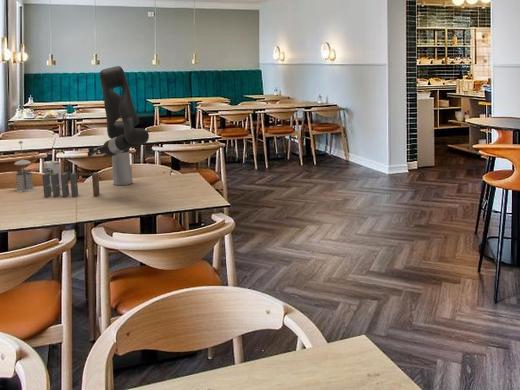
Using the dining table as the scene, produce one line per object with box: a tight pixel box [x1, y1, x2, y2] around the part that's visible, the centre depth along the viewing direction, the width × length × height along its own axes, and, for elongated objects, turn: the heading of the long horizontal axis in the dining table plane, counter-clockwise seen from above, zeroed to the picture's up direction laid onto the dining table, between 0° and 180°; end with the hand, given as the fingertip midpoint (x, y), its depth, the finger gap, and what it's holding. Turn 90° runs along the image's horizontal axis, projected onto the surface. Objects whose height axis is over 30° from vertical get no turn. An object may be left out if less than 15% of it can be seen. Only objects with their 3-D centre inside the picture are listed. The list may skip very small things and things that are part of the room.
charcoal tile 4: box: [52, 173, 61, 198], centre depth 270 cm, size 2×5×11 cm, turn 3°
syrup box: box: [43, 160, 62, 192], centre depth 285 cm, size 6×6×14 cm
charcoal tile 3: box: [61, 172, 70, 198], centre depth 270 cm, size 2×5×11 cm, turn 3°
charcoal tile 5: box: [41, 172, 52, 198], centre depth 270 cm, size 2×5×11 cm, turn 3°
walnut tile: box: [91, 171, 100, 198], centre depth 271 cm, size 2×5×11 cm, turn 3°
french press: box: [13, 140, 36, 192], centre depth 284 cm, size 10×12×25 cm
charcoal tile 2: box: [69, 172, 79, 198], centre depth 270 cm, size 2×5×11 cm, turn 3°
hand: (96, 155), depth 270 cm, fingers open, 8 cm apart
